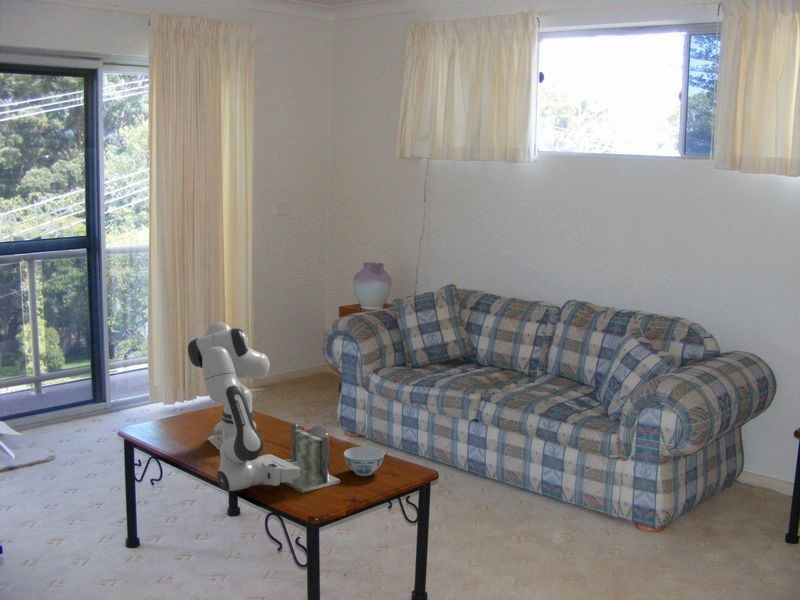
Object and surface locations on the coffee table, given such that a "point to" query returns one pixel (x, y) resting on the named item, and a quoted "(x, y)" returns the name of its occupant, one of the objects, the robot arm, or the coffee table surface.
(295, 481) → the gate frame
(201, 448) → the coffee table surface
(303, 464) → the gate
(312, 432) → the bluetooth speaker
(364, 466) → the chinaware
